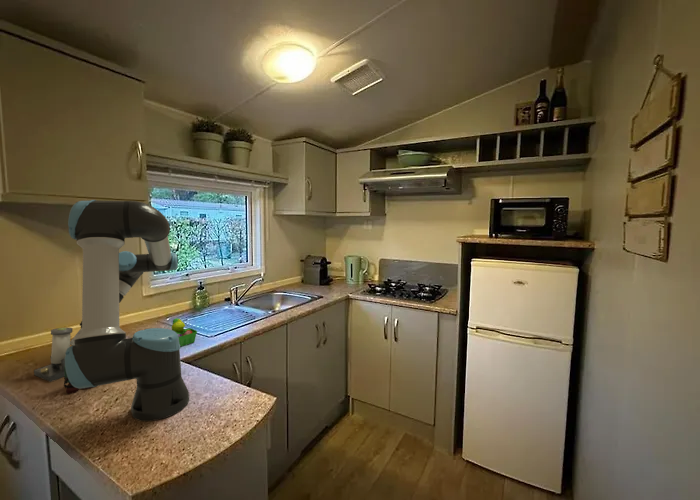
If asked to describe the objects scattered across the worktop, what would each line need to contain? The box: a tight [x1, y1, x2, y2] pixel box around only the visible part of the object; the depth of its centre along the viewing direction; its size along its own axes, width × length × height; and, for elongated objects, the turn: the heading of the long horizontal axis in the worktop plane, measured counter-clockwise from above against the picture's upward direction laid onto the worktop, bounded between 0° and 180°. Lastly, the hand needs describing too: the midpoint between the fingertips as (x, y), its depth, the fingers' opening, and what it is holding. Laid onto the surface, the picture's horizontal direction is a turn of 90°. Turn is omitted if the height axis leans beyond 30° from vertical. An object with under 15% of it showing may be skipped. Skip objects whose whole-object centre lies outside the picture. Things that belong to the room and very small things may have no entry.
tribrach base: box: [33, 359, 65, 383], centre depth 120 cm, size 11×11×6 cm
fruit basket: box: [171, 317, 198, 347], centre depth 146 cm, size 11×9×11 cm
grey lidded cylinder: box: [50, 327, 74, 364], centre depth 120 cm, size 6×6×12 cm
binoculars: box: [63, 367, 94, 395], centre depth 109 cm, size 9×11×10 cm
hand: (72, 345), depth 124 cm, fingers closed
